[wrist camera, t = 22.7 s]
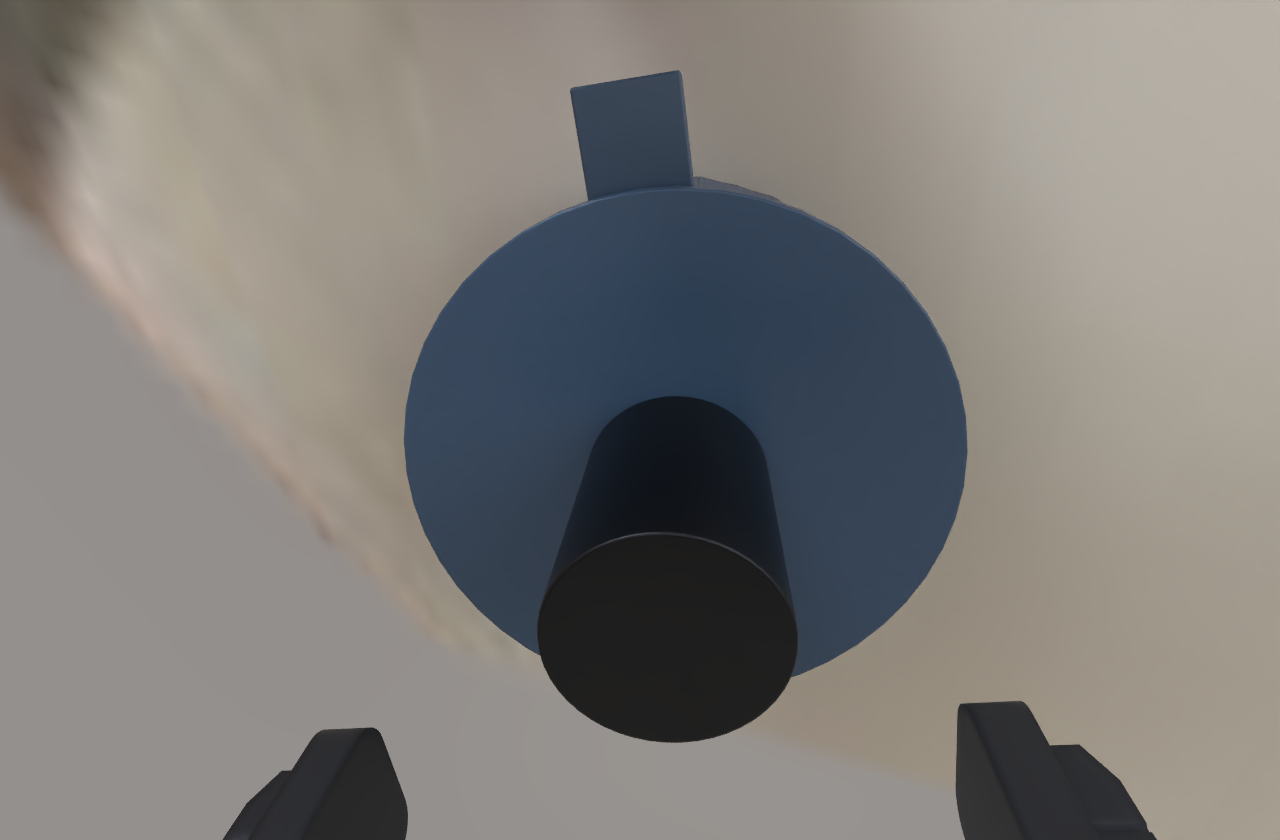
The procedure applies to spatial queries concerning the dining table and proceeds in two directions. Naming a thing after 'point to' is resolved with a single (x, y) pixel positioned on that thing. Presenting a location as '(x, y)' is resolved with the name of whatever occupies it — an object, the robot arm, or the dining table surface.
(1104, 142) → the dining table surface
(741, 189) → the pot
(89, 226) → the dining table surface
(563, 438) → the lid
